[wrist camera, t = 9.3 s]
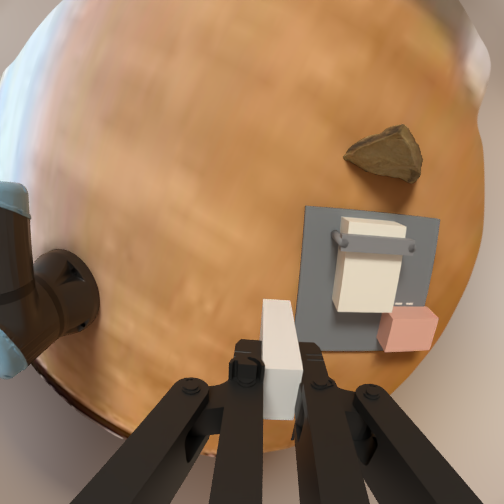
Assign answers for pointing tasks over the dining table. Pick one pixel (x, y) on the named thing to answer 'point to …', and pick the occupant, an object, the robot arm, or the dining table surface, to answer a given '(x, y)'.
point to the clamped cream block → (368, 264)
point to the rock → (388, 154)
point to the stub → (407, 329)
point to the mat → (323, 274)
